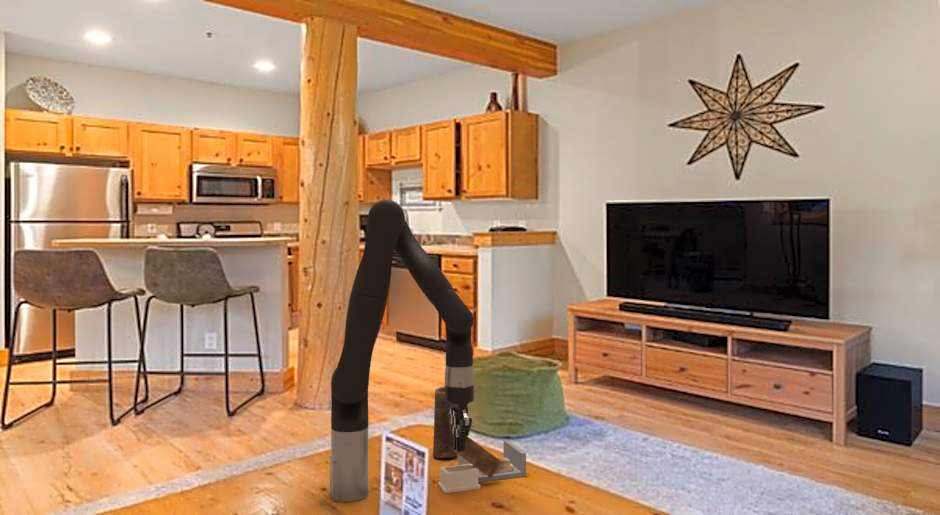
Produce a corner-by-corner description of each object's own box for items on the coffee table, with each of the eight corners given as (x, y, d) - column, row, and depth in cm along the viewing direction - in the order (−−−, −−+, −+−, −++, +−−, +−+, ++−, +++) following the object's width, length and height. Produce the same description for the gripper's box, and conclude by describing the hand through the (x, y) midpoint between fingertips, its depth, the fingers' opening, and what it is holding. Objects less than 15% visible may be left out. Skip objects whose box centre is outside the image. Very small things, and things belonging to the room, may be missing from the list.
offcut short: (489, 468, 172) (489, 463, 172) (485, 465, 175) (485, 459, 175) (510, 465, 175) (510, 460, 175) (505, 462, 177) (505, 457, 177)
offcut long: (482, 475, 172) (482, 469, 172) (478, 471, 175) (478, 465, 175) (513, 471, 175) (513, 465, 175) (509, 467, 178) (509, 462, 178)
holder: (444, 493, 162) (444, 474, 162) (437, 485, 168) (437, 466, 168) (480, 488, 165) (480, 470, 165) (472, 480, 171) (472, 462, 171)
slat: (490, 478, 168) (456, 453, 165) (488, 475, 170) (453, 451, 167) (501, 461, 169) (467, 436, 166) (498, 459, 171) (465, 434, 168)
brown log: (458, 452, 194) (458, 386, 194) (459, 460, 187) (459, 391, 187) (433, 453, 194) (433, 386, 194) (433, 461, 187) (433, 392, 186)
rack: (473, 482, 170) (473, 459, 169) (457, 467, 182) (457, 445, 182) (526, 476, 174) (526, 453, 174) (507, 461, 187) (507, 439, 187)
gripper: (437, 378, 171) (437, 444, 172) (453, 389, 159) (453, 459, 159) (464, 376, 174) (464, 441, 174) (482, 387, 161) (482, 456, 161)
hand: (459, 449), depth 166 cm, fingers closed on slat
